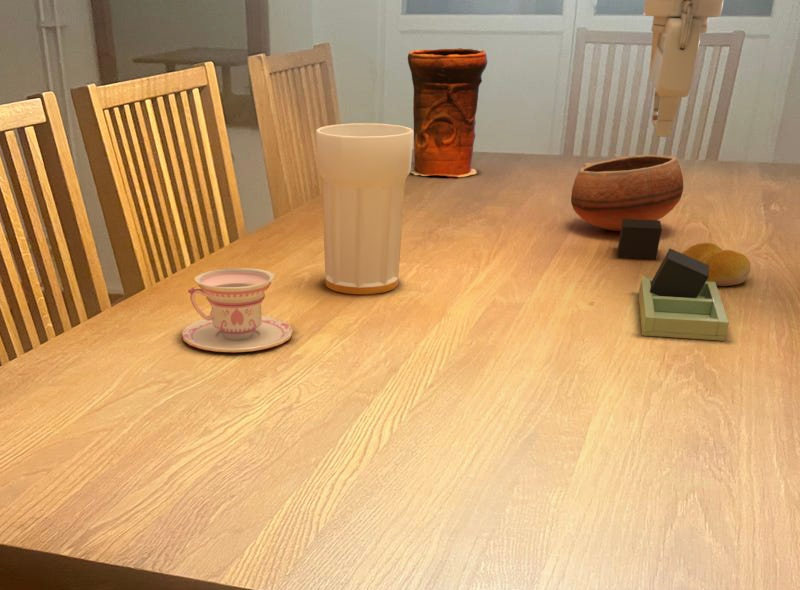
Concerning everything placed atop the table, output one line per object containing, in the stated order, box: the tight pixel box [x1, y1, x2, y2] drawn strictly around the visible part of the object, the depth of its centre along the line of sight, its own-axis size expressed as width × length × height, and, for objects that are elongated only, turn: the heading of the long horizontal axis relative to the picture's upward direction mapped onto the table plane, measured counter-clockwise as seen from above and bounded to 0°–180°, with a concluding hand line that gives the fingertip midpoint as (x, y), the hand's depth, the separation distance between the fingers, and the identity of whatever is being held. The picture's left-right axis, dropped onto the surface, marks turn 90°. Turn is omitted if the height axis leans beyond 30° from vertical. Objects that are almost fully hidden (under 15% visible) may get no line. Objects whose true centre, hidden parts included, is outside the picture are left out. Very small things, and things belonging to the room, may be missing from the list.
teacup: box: [181, 267, 294, 353], centre depth 103 cm, size 12×12×6 cm
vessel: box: [407, 47, 488, 178], centre depth 179 cm, size 14×14×20 cm
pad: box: [650, 247, 709, 298], centre depth 111 cm, size 5×5×4 cm
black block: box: [617, 219, 663, 261], centre depth 131 cm, size 5×5×4 cm
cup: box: [315, 122, 414, 296], centre depth 116 cm, size 11×11×17 cm
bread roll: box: [681, 242, 751, 287], centre depth 121 cm, size 8×9×4 cm
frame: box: [637, 277, 730, 342], centre depth 109 cm, size 8×16×2 cm, turn 166°
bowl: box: [570, 154, 684, 232], centre depth 142 cm, size 16×16×10 cm
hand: (659, 130), depth 121 cm, fingers open, 8 cm apart
